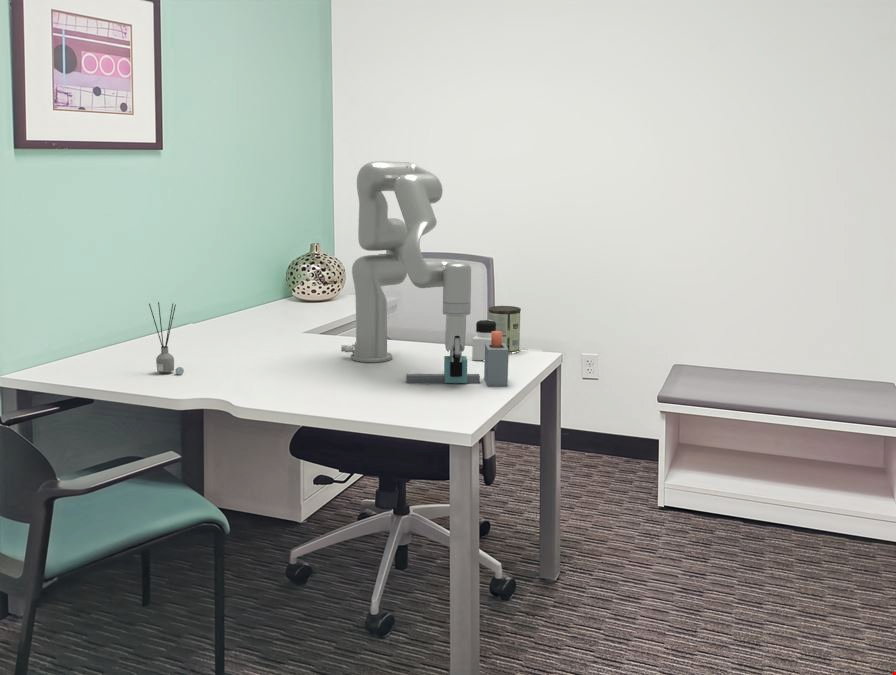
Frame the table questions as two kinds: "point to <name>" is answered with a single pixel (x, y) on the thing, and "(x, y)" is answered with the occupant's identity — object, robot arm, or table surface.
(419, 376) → the rail
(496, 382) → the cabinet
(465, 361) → the block
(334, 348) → the table surface
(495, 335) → the plunger
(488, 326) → the medicine bottle
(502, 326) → the coffee can
